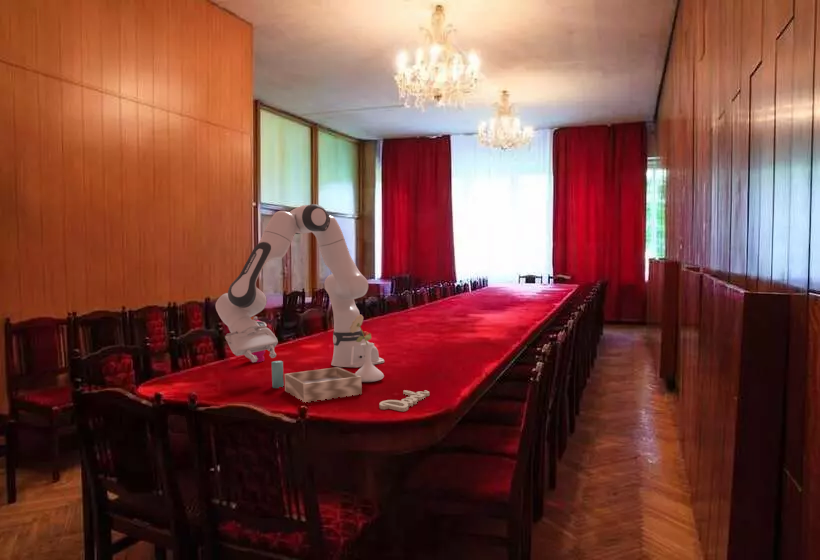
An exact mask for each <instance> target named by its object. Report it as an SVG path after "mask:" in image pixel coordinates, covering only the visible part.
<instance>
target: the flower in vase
mask: <svg viewBox="0 0 820 560" xmlns="http://www.w3.org/2000/svg"><path fill="white" fill-rule="evenodd" d="M363 322H364V316H363V315H362V314H360V316H359V315H358V316H357V317H356V319H355V321H353V322H352V323H353V324H352V325H351V326H350V328H349V329H351V330H350V332H352V333H354V332H356V331H357V330H358V329H359V327H360V330H361V331H362V334H363V332H364V331H363V329H362V327H361V326H362V325H363ZM363 338H364V339H365V341H366V343H362V344H361V346H362V347H363V349H364V353H365V363H364V365H363V366H362V367H359V369H358V370H357V371H355V373H354V374H356V375H359V376H361V382H362V383H373V382H378V381H381V380H382V379H383V378H384V377H385V375H384V373H383V372H382V371H381V370H380V369H378V367H376V366H375V364H374V365H373V364H372V362H371V351H372V347H373V345H374V346H375V342H374V343H373V342H370V343H367V341H368V342H369V341H370V340H372V333H371V332H368V335H366V336H364V334H363V336H360V337H359V338H358V339H357V340H356V342H361V341H362V339H363Z"/></svg>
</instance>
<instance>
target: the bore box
mask: <svg viewBox="0 0 820 560" xmlns="http://www.w3.org/2000/svg"><path fill="white" fill-rule="evenodd" d="M362 383H363V382H361V376H359V375H356V374H355V373H353V372H352V371H348V370H347V369H344V368H342V367H337V366H334V367H329V368H321V369H313V370H304V371H297V372H290V373H289V372H288V373H284V391H285V392H286V393H288V394H289V393H290V394H289V395H291V396H293V397H294V396H295V398H296V399H298V400H299V399H300V400H299V401H301V400H302V401H301V402H302V403H304V402H305V403H306V402H308V403H312V402H311V401H314V402H318V401H317V400H321V401H326V400H325V399H327V400H333V399H332V398H334V399H339V398H338V397H340V398H346V396H347V397H352V395H353V396H358V395H359V394H360V395H362V394H363V392H362V391H363V388H362V387H363V385H362ZM305 403H304V404H305ZM306 404H307V403H306Z"/></svg>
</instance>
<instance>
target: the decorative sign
mask: <svg viewBox="0 0 820 560" xmlns="http://www.w3.org/2000/svg"><path fill="white" fill-rule="evenodd" d="M402 393H403V395H404V394H405V395H404V396H406V395H408V396H406V397H405V398H402V399H401V400H398V399H387V400H382V401H380V402H379V405H378V406H379V410H394V411H397V412H407V411H408V410H409V407H410V406H411V407H413V406H414V405H417V404H418V403H419V401H423V400H425V399H426V397H429V396H430V391H428V390H426V389H425V390H423V391H416V392H415V391H411V390H407V389H406V390H405V389H404V390H403V392H402ZM424 398H425V399H424ZM422 399H423V400H422ZM417 402H418V403H417Z"/></svg>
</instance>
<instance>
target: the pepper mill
mask: <svg viewBox="0 0 820 560" xmlns="http://www.w3.org/2000/svg"><path fill="white" fill-rule="evenodd" d="M252 320H256V321H260V322H262V321H261V320H259V319H258V316H256V315H254V316H253V319H252ZM251 354H253V355H254V356H255V355H256V356H257V358H258V360H257V361H256V362H255V363H262V361H263V362H264V361H265V356H264V355H265V354H266V350H262V351H258V352H253V353H251ZM249 362H250V363H253V362H252V361H251V359H249Z"/></svg>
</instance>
